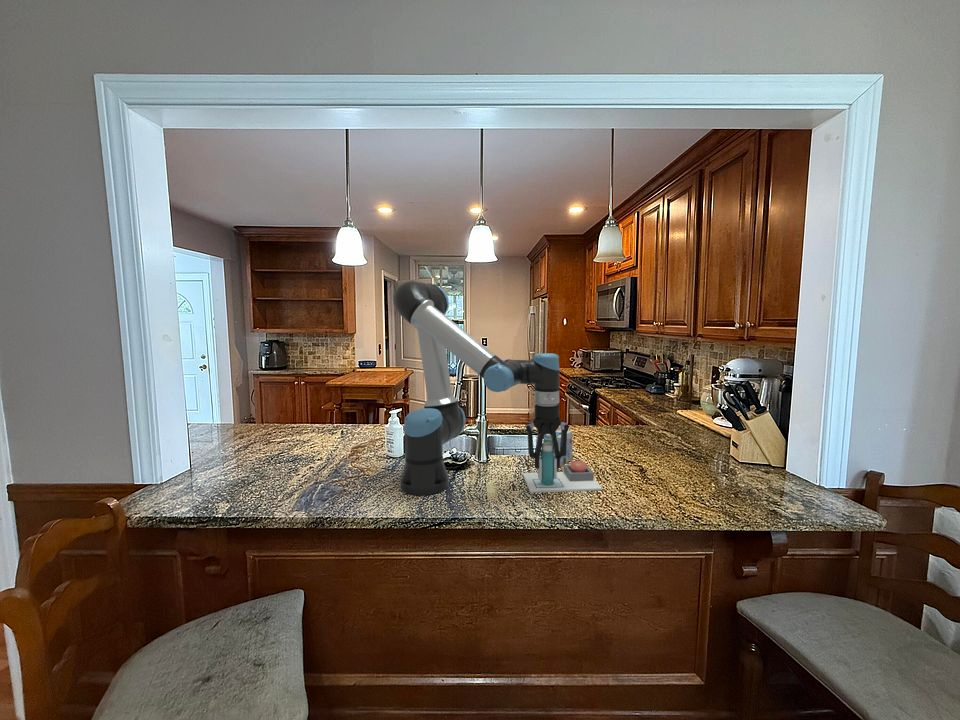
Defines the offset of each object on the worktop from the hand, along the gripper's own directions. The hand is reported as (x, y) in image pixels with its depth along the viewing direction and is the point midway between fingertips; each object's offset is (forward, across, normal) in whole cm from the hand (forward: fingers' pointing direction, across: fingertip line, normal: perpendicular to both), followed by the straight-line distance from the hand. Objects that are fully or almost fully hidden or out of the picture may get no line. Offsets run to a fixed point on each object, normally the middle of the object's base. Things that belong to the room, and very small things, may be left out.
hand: (547, 477), depth 123 cm
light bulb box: (+3, +9, +21) cm, 23 cm away
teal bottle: (+1, 0, 0) cm, 1 cm away
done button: (+1, +11, +5) cm, 12 cm away
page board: (+2, +5, +2) cm, 6 cm away
